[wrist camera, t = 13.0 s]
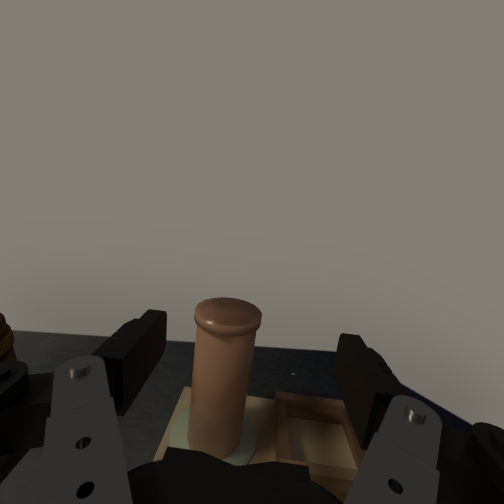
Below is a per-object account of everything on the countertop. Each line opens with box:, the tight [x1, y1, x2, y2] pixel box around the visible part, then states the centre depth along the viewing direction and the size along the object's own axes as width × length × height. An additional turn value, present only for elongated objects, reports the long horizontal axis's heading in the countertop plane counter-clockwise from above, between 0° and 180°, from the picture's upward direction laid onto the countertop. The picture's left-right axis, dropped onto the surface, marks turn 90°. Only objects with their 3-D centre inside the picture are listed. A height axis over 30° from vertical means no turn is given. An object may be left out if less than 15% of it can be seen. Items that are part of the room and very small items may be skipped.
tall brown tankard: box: [187, 297, 262, 460], centre depth 26 cm, size 6×8×14 cm
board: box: [153, 387, 367, 503], centre depth 27 cm, size 22×12×4 cm, turn 87°
